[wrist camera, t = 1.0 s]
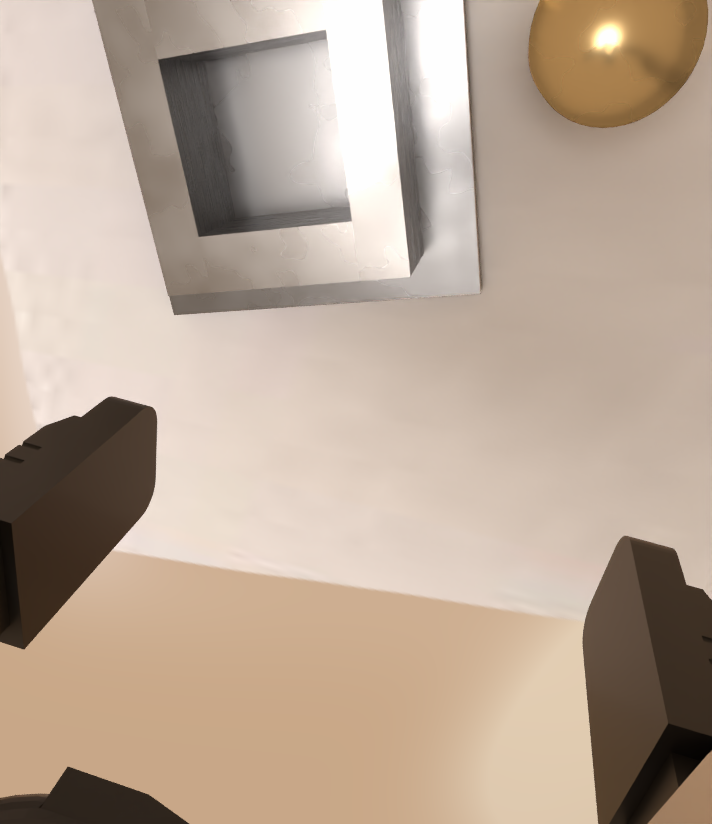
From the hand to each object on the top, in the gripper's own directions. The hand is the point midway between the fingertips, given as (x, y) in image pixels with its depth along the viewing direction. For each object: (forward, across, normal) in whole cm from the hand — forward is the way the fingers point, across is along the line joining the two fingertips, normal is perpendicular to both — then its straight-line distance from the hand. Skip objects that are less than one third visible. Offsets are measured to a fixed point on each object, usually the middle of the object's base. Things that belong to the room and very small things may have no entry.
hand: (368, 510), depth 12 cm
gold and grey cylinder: (+21, -3, -8) cm, 23 cm away
